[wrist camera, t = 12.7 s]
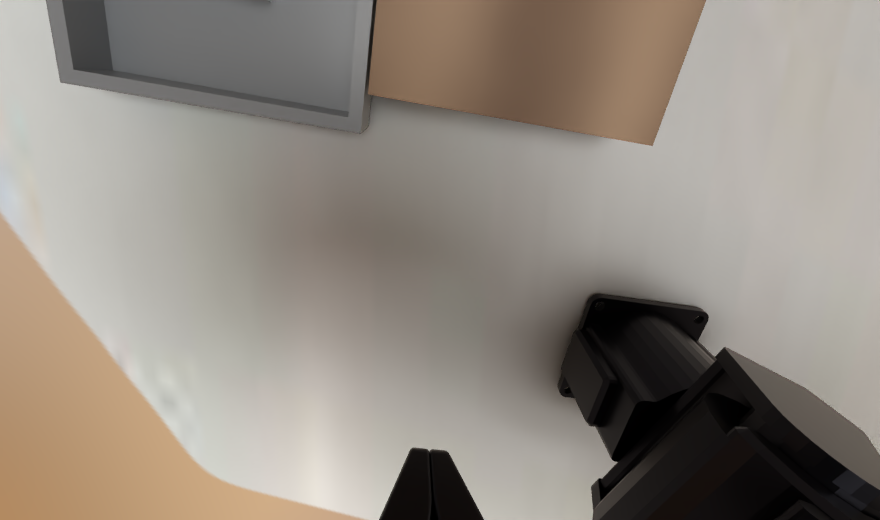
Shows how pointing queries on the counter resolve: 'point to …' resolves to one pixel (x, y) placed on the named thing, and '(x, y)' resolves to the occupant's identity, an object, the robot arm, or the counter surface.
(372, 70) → the brown wooden block
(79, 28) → the tray
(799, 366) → the counter surface
